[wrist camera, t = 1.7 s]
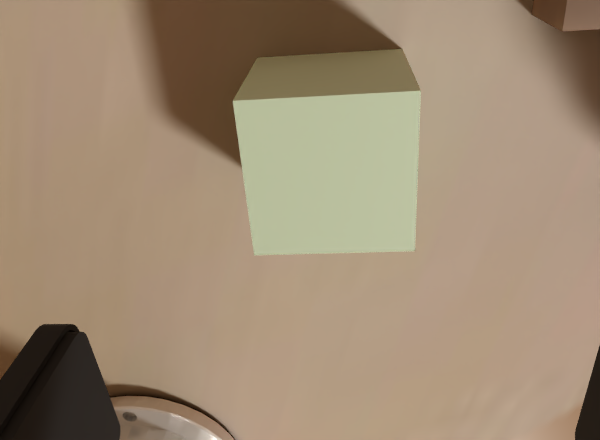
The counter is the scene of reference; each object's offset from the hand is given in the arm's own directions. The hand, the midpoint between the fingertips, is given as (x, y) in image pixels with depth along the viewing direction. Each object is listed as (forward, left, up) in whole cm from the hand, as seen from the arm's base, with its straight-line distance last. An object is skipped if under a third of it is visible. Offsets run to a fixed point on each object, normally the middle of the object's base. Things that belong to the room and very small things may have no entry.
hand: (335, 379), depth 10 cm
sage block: (-1, 0, -16) cm, 16 cm away
